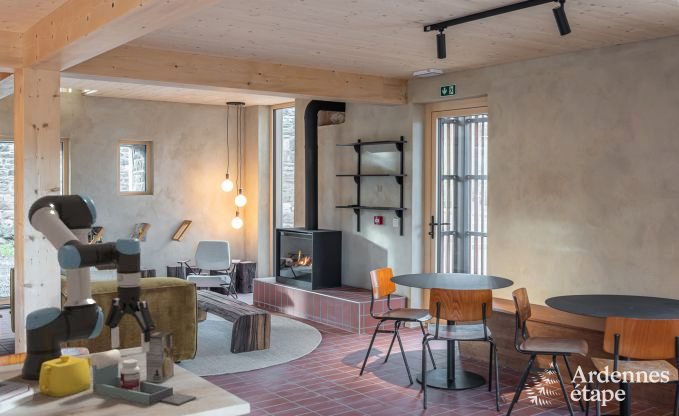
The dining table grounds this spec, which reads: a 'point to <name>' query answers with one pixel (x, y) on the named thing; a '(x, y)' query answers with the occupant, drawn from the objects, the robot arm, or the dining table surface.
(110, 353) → the teal rectangular frame
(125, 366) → the pill bottle
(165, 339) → the coffee box
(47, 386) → the teapot
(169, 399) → the coaster
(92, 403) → the dining table surface
